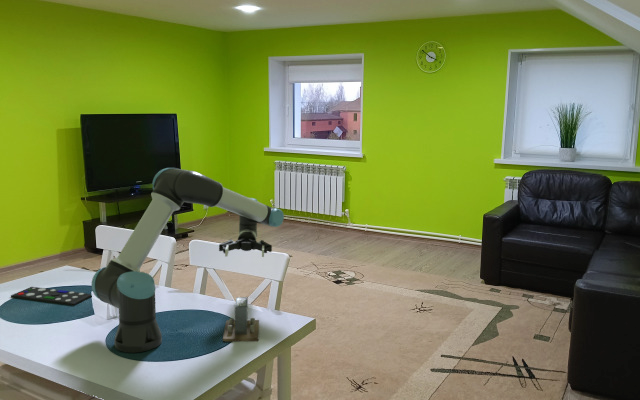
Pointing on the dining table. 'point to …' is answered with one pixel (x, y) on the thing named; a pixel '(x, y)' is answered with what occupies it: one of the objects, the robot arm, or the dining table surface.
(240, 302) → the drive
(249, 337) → the pin tray
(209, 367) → the dining table surface
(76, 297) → the remote control
